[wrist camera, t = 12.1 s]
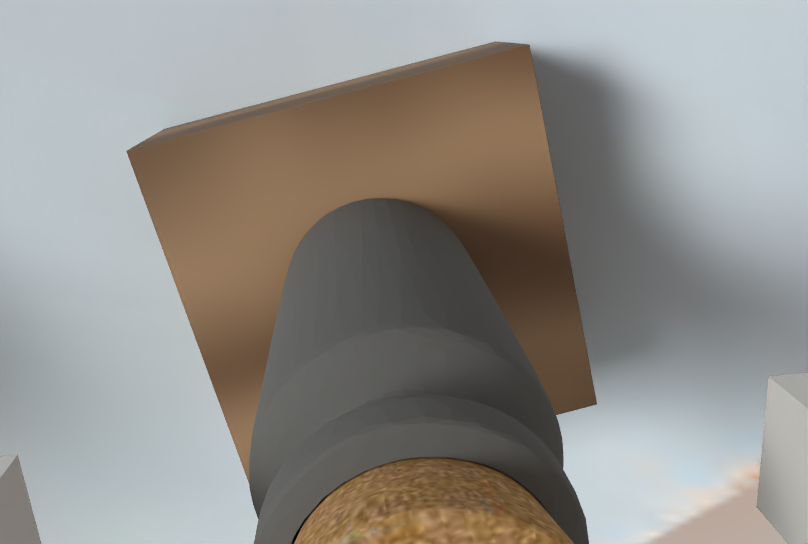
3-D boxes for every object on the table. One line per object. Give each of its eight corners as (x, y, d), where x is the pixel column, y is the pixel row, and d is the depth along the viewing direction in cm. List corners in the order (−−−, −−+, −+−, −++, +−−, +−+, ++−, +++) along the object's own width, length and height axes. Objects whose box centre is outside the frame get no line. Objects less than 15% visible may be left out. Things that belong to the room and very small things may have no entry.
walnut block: (164, 129, 27) (126, 150, 22) (495, 41, 27) (529, 44, 22) (266, 422, 30) (253, 494, 26) (556, 345, 30) (597, 404, 26)
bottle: (467, 186, 23) (674, 444, 9) (476, 362, 25) (660, 811, 11) (274, 204, 23) (164, 501, 8) (297, 381, 25) (239, 870, 10)
